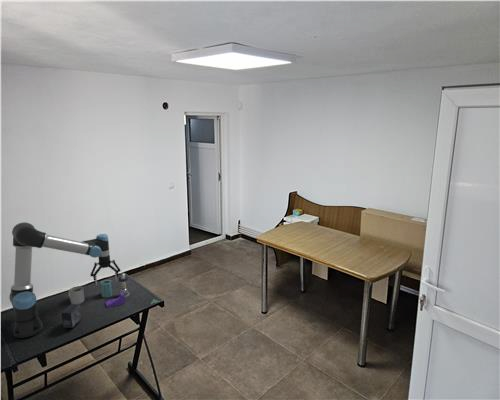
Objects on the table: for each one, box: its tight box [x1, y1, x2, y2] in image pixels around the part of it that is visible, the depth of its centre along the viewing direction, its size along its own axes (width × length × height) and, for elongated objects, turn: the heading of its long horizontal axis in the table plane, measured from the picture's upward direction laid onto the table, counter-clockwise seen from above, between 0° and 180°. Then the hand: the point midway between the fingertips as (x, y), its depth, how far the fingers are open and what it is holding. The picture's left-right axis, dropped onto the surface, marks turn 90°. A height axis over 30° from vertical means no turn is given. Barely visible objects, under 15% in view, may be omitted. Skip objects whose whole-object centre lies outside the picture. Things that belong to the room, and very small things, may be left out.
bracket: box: [104, 292, 126, 308], centre depth 239 cm, size 12×7×7 cm, turn 119°
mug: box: [67, 285, 86, 305], centre depth 242 cm, size 11×10×10 cm
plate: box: [118, 291, 131, 299], centre depth 251 cm, size 8×8×1 cm
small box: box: [61, 303, 82, 329], centre depth 214 cm, size 11×6×10 cm, turn 178°
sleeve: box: [100, 279, 113, 298], centre depth 250 cm, size 7×7×11 cm
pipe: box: [119, 272, 128, 296], centre depth 249 cm, size 5×5×16 cm
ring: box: [118, 275, 128, 283], centre depth 249 cm, size 6×6×2 cm
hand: (106, 282), depth 249 cm, fingers open, 13 cm apart
